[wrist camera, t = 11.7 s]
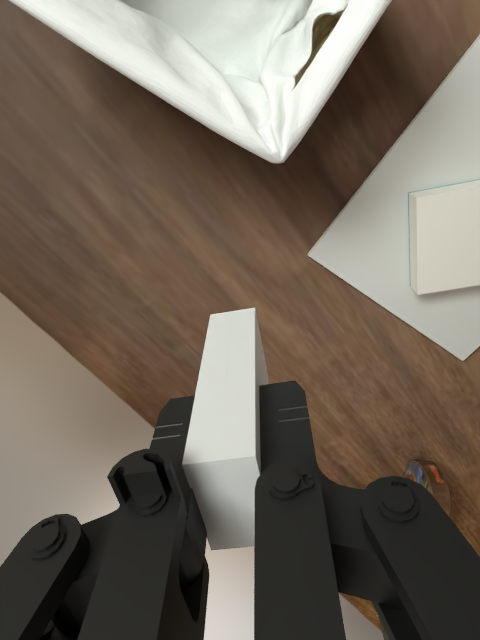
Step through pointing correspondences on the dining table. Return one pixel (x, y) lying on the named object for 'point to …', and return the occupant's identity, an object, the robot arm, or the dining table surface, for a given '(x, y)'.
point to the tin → (430, 481)
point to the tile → (444, 237)
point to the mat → (392, 213)
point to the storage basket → (225, 57)
